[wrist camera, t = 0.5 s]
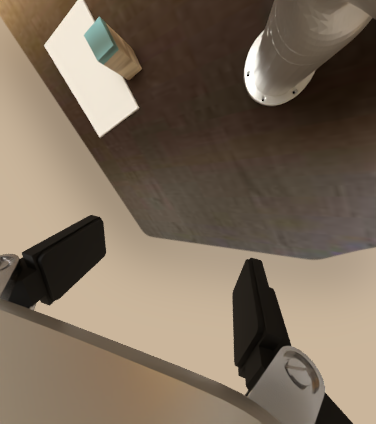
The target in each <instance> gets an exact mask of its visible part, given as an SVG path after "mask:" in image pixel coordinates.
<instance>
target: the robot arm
mask: <svg viewBox="0 0 376 424" xmlns="http://www.w3.org/2000/svg"><path fill="white" fill-rule="evenodd" d="M372 18H374V19H376V0H274V3H273V6H272V9H271V12H270V15H269V18H268V21H267V24H266V27H265V30H264V31H262V33H261V34H260V35H259V36H258V37H257V38H256V40H255V41H254V43H253V45H252V46H251V48H250V50H249V53H248V55H247V58H246V62H245V66H244V84H245V87H246V90H247V92H248V94H249V96H250V97H251V98H252V99H253V100H254V101H255V102H257V103H259V104H261V105H264V106H277V105H281V104H283V103H286V102H288V101H289V100H291V99H293V98H294V97H295V96H297V95H298V94H299V93H300V92H301V91H302V90H303V89H304V88H305V87H306V86H307V84H308V83H309V82H310V80H311V78H312V77H313V75H314V73H315V70H316V69H317V68H319V67H320V66H321V65H322V64H324V63H325V62H326V61H327V60H329V59H330V58H331V57H332V56H334V55H335V54H336V53H337V52H338V51H340V50H341V49H342V48H343V47H344V46H346V45H347V44H348V43H349V42H351V41H352V40H353V39H354V38H355V37H356V36H357V35H358V34H359V33H360V32H361V31H362V30H363V29H364V28H365V26H366V25H367V24H368V23H369V21H370V20H371V19H372ZM247 74H249V77H247ZM293 91H294V92H295V93H294V94H293V93H292V92H293ZM262 99H264V101H262ZM105 254H106V247H105V236H104V227H103V221H102V220H101V218H100V217H97V216H93V215H90V216H88V217H86V218H84V219H82V220H81V221H79V222H77V223H75V224H73V225H71V226H70V227H68V228H66V229H64V230H62V231H60V232H59V233H57V234H55V235H53V236H51V237H49V238H48V239H46V240H44V241H42V242H40V243H39V244H37V245H35V246H33V247H31V248H29V249H27V250H26V251H24V252H22V255H23V258H21V259H19V257H18V256H17V255H15V254H3V255H0V424H353V423H352V422H351V421H350V420H349V419H348V418H347V416H346V415H345V414H344V413H343V412H342V411H341V410H340V409H339V408H338V407H337V405H336V404H335V403H334V402H333V401H332V400H331V399H330V397H329V396H328V395H327V394H326V393H325V386H324V381H323V378H322V376H321V374H320V372H319V370H318V369H317V368H316V366H315V364H314V363H313V362H312V361H311V359H309V357H308V356H307V355H306V354H304V353H303V352H302V351H300V350H299V349H296V348H295V347H292V346H291V343H290V340H289V337H288V333H287V330H286V327H285V324H284V320H283V317H282V314H281V311H280V308H279V304H278V301H277V298H276V295H275V292H274V290H273V289H272V288H270V287H269V285H268V282H267V278H266V275H265V271H264V268H263V264H262V261H261V260H258V259H254V258H250V259H249V260H248V259H247V260H246V261H245V264H244V266H243V268H242V271H241V273H240V276H239V278H238V280H237V283H236V286H235V288H234V290H233V327H234V328H233V330H234V362H235V366H237V367H238V372H239V376H241V377H243V378H245V379H246V387H247V388H248V391H247V393H246V394H245V395H243V394H241V393H239V392H237V391H235V390H233V389H231V388H229V387H227V386H225V385H223V384H221V383H218V382H216V381H214V380H211V379H209V378H206V377H204V376H202V375H199V374H197V373H194V372H192V371H189V370H187V369H185V368H182V367H180V366H177V365H174V364H172V363H169V362H167V361H164V360H162V359H159V358H157V357H154V356H151V355H149V354H146V353H144V352H141V351H139V350H136V349H133V348H131V347H128V346H126V345H123V344H120V343H118V342H115V341H113V340H110V339H108V338H105V337H102V336H100V335H97V334H94V333H92V332H89V331H87V330H84V329H81V328H79V327H76V326H74V325H71V324H68V323H65V322H63V321H60V320H57V319H55V318H52V317H50V316H47V315H44V314H41V313H39V312H36V311H34V309H35V306H36V303H37V302H38V301H39V300H40V301H41V302H42V303H44V304H47V305H51V304H52V303H53V302H54V301H55V300H58V299H59V298H61V297H62V296H63V295H64V294H65V293H66V292H67V291H68V290H69V289H70V288H71V287H72V286H73V285H74V284H75V283H76V282H78V281H79V280H80V278H82V277H83V276H84V275H85V274H86V273H87V272H88V271H89V270H90V269H91V268H93V267H94V266H95V265H96V264H97V263H98V262H99V261H100V260H101V259H102V258H103V257H104V256H105Z"/></svg>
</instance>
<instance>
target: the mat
mask: <svg viewBox="0 0 376 424" xmlns="http://www.w3.org/2000/svg"><path fill="white" fill-rule="evenodd" d="M94 22H95V20H94V18H93V16H92V14H91V12H90V10H89V8H88V6H87V4H86V2H85V1H84V0H78V1H77V2H76V3H75V5H74V6H73V7H72V9H71V10H70V11H69V13H68V14H67V15H66V17H65V18H64V19H63V21H62V22H61V23H60V25H59V26H58V28H57V29H56V30H55V32H54V33H53V34H52V36H51V37H50V38H49V40H48V41H47V42H46V44H45V45H44V46H45V48H46V50H47V51H48V53H49V55H50V56H51V58H52V59H53V61H54V63H55V64H56V66H57V68H58V69H59V71H60V73H61V74H62V76H63V78H64V79H65V81H66V83H67V84H68V86H69V88H70V89H71V91H72V92H73V94H74V96H75V97H76V99H77V101H78V102H79V104H80V106H81V107H82V109H83V111H84V112H85V114H86V116H87V117H88V119H89V121H90V122H91V124H92V125H93V127H94V129H95V130H96V132H97V134H98V135H99V137H102V136H104V135H105V134H106V133H108V132H109V131H110V130H111V129H113V128H114V127H115V126H117V125H118V124H119V123H121V122H122V121H123V120H125V119H126V118H127V117H129V116H130V115H131V114H133V113H134V112H135V111H137V110H138V109H139V106H138V104H137V102H136V100H135V98H134V96H133V94H132V92H131V91H130V89H129V87H128V85H127V83H126V81H125V79H124V77H123V76H121V75H119V74H118V73H116V72H114V71H113V70H111V69H109V68H108V67H106V66H105V65H103V64H101V63H100V62H98V61H97V59H96V57H95V55H94V54H93V52H92V50H91V48H90V46H89V44H88V42H87V41H86V39H85V37H84V34H85V33H86V32H87V31H88V29H89V28H90V27H91V26H92V25H93V23H94Z"/></svg>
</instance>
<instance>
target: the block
mask: <svg viewBox="0 0 376 424" xmlns="http://www.w3.org/2000/svg"><path fill="white" fill-rule="evenodd" d="M84 37H85V39H86V41H87V42H88V44H89V46H90V48H91V50H92V52H93V54H94V55H95V57H96V59H97V61H98V62H100V63H101V64H103V65H105V66H106V67H108V68H109V69H111V70H113V71H114V72H116V73H118V74H119V75H121V76H123V77H124V78H126V79H127V80H130V79H131V78H132V77H133V76H135V75H136V74H137V73H138V72H139V71H140V70H142V68H141V66H140V64H139V61H138V59H137V57H136V55H135V53H134V51H133V49H132V48H131V47H130V46H129V45H128V44H127V43H126V42H125V41H124V40H123V39H122V38H121V37H120V36H119V35H118V34H117V33H116V32H115V31H114V30H113V29H112V28H110V27H109V26H108V25H107V24H106V23H105V22H104V21H103V20H102V19H101V18H100V17H99V18H98V19H97V20H96V21H95V22H94V23H93V25H92V26H91V27H90V28H89V29H88V31H87V32H86V33H85V34H84Z"/></svg>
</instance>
